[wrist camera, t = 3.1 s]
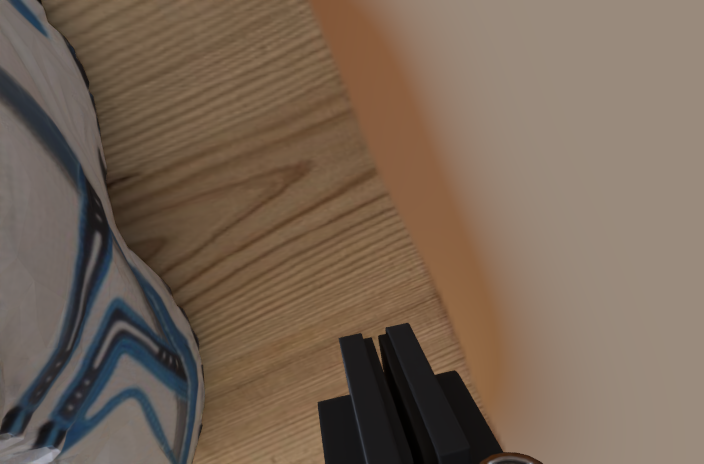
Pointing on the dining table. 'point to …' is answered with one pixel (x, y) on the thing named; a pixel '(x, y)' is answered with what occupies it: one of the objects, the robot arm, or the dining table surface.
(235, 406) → the dining table surface
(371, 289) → the dining table surface
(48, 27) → the athletic shoe
